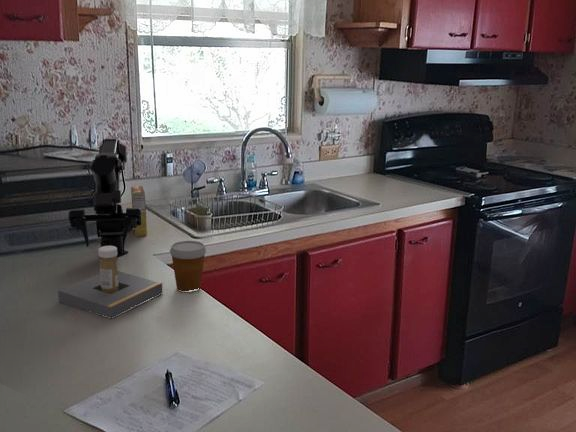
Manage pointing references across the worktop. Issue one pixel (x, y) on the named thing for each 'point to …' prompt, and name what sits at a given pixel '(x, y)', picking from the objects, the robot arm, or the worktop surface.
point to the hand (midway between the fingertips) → (105, 245)
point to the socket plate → (107, 304)
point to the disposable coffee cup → (188, 264)
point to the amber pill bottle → (108, 269)
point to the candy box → (139, 202)
